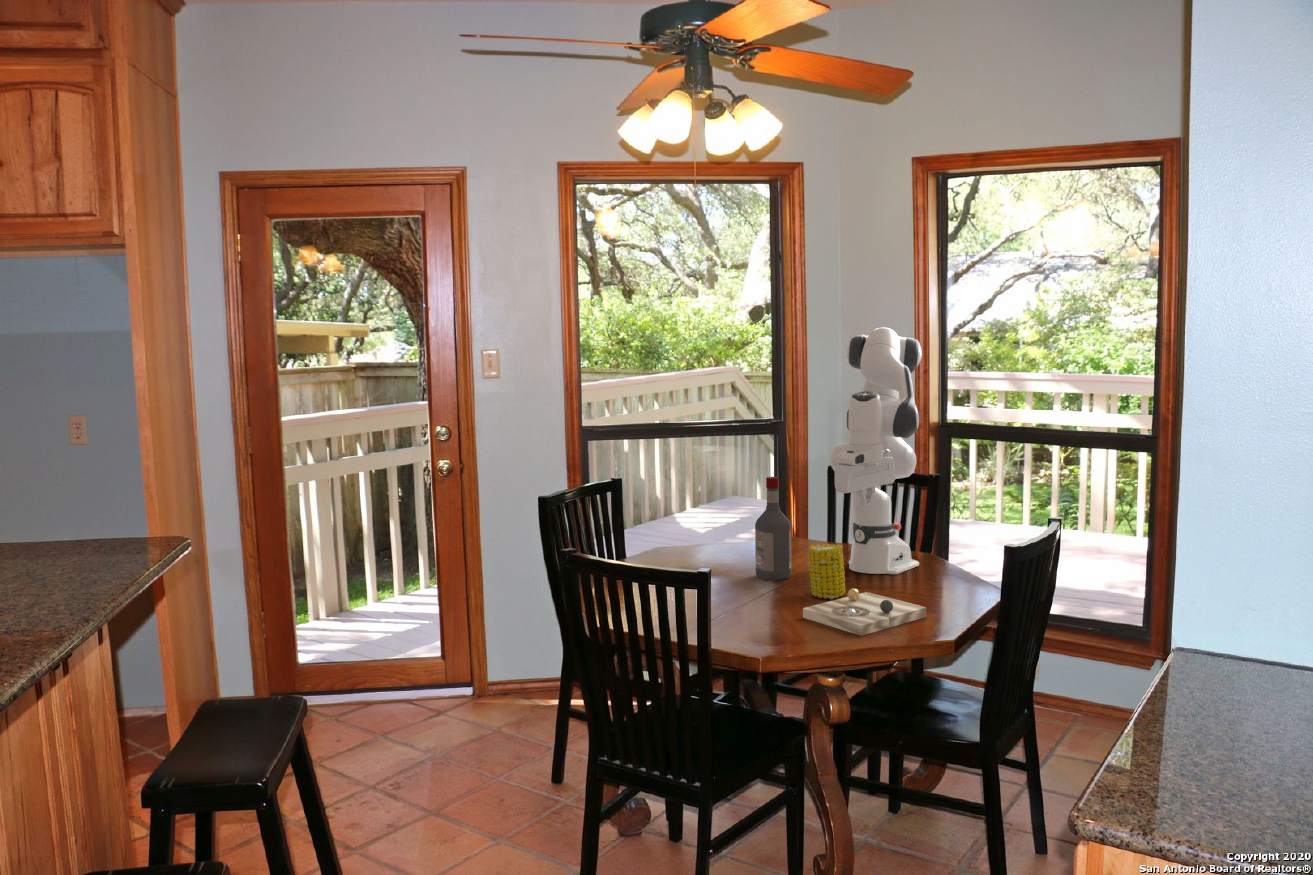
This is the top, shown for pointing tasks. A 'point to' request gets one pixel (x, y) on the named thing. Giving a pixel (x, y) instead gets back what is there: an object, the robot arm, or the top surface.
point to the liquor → (773, 538)
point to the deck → (863, 613)
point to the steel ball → (850, 611)
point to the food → (827, 571)
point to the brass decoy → (853, 594)
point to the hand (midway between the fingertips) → (866, 504)
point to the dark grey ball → (886, 606)
